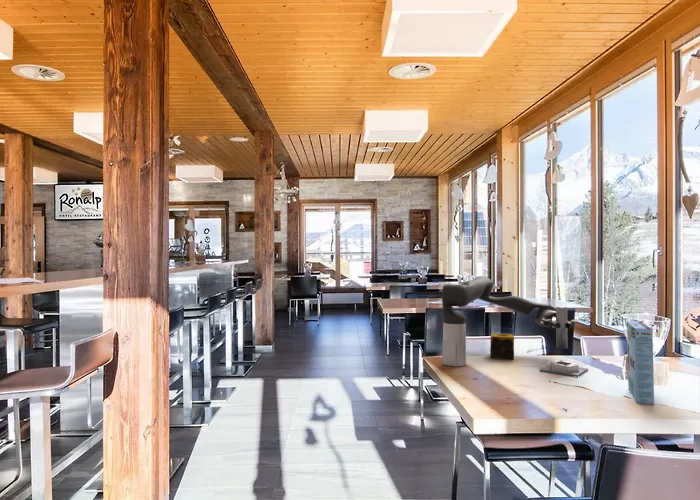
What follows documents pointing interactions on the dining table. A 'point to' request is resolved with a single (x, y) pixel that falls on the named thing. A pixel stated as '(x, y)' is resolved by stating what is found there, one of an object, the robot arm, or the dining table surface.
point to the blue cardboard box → (640, 362)
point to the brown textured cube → (502, 346)
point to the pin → (561, 327)
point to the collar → (564, 368)
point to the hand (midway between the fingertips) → (563, 325)
